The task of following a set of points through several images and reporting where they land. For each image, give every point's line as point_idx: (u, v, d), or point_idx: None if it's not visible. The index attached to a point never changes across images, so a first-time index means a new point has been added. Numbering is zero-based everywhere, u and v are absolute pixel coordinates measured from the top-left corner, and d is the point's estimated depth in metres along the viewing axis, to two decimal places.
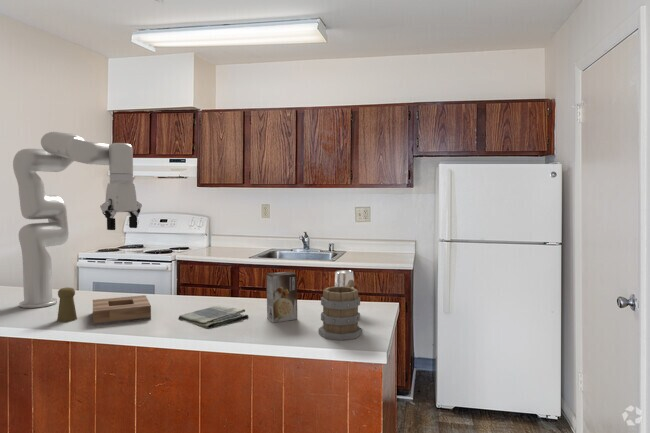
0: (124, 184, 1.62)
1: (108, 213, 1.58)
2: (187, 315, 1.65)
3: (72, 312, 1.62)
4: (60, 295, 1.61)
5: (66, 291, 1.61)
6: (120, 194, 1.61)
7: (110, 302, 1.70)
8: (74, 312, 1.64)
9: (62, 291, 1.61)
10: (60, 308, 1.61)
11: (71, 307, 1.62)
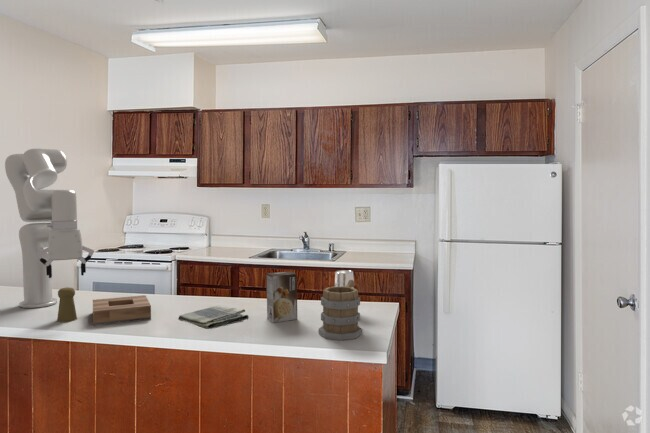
0: None
1: None
2: (187, 315, 1.65)
3: (72, 312, 1.62)
4: (60, 295, 1.61)
5: (66, 291, 1.61)
6: None
7: (110, 302, 1.70)
8: (74, 312, 1.64)
9: (62, 291, 1.61)
10: (60, 308, 1.61)
11: (71, 307, 1.62)
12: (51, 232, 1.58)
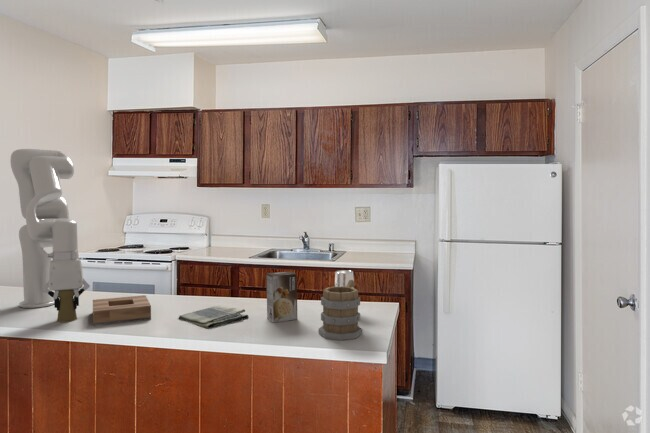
0: None
1: None
2: (187, 315, 1.65)
3: (72, 312, 1.62)
4: (60, 295, 1.61)
5: (66, 291, 1.61)
6: None
7: (110, 302, 1.70)
8: (74, 312, 1.64)
9: (62, 291, 1.61)
10: (60, 308, 1.61)
11: (71, 307, 1.62)
12: (52, 263, 1.59)
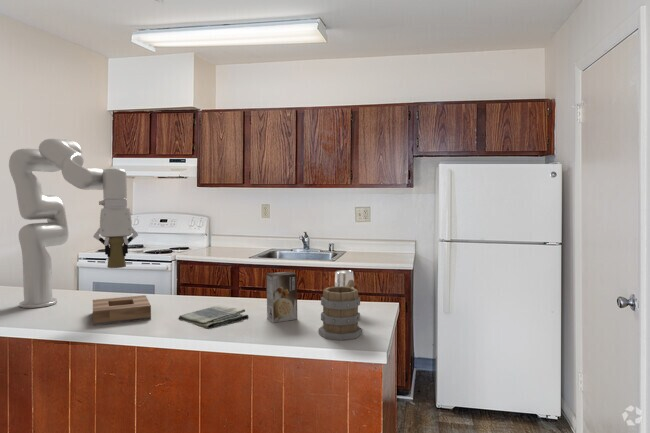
0: None
1: None
2: (187, 315, 1.65)
3: (121, 259, 1.66)
4: (110, 242, 1.64)
5: (116, 238, 1.65)
6: None
7: (110, 302, 1.70)
8: (123, 259, 1.67)
9: (112, 238, 1.64)
10: (110, 255, 1.65)
11: (121, 254, 1.66)
12: (103, 209, 1.62)
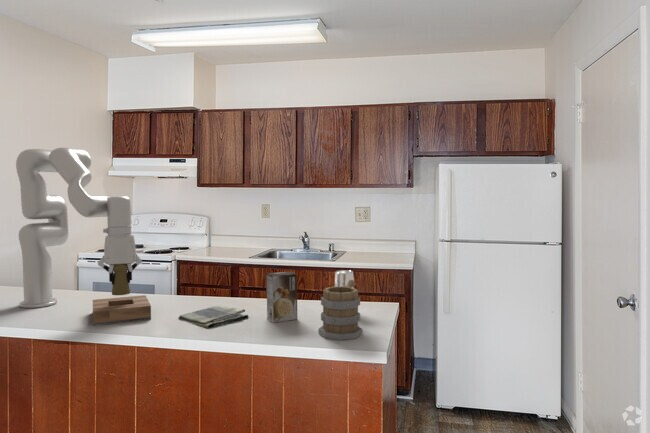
0: None
1: None
2: (187, 315, 1.65)
3: (126, 286, 1.67)
4: (115, 269, 1.65)
5: (121, 265, 1.65)
6: None
7: (110, 302, 1.70)
8: (128, 286, 1.68)
9: (117, 265, 1.65)
10: (115, 282, 1.66)
11: (125, 281, 1.67)
12: (107, 237, 1.63)
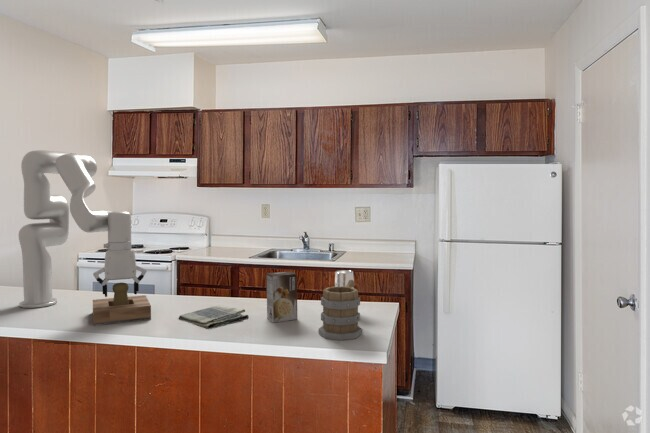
0: None
1: None
2: (187, 315, 1.65)
3: None
4: (115, 290, 1.66)
5: (121, 286, 1.66)
6: None
7: (110, 302, 1.70)
8: None
9: (117, 286, 1.66)
10: (115, 302, 1.66)
11: (125, 302, 1.67)
12: (108, 253, 1.64)
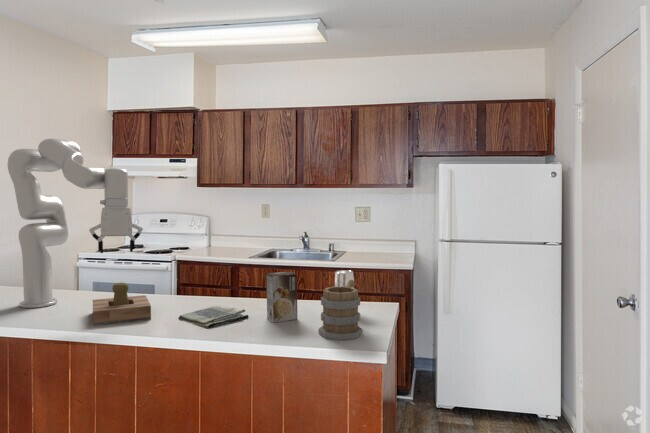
0: None
1: None
2: (187, 315, 1.65)
3: None
4: (115, 290, 1.66)
5: (121, 286, 1.66)
6: None
7: (110, 302, 1.70)
8: None
9: (117, 286, 1.66)
10: (115, 302, 1.66)
11: (125, 302, 1.67)
12: (104, 209, 1.64)
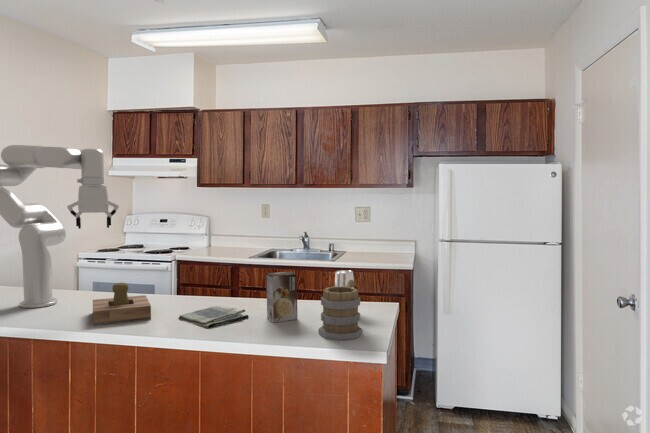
0: None
1: None
2: (187, 315, 1.65)
3: None
4: (115, 290, 1.66)
5: (121, 286, 1.66)
6: None
7: (110, 302, 1.70)
8: None
9: (117, 286, 1.66)
10: (115, 302, 1.66)
11: (125, 302, 1.67)
12: (81, 187, 1.74)
